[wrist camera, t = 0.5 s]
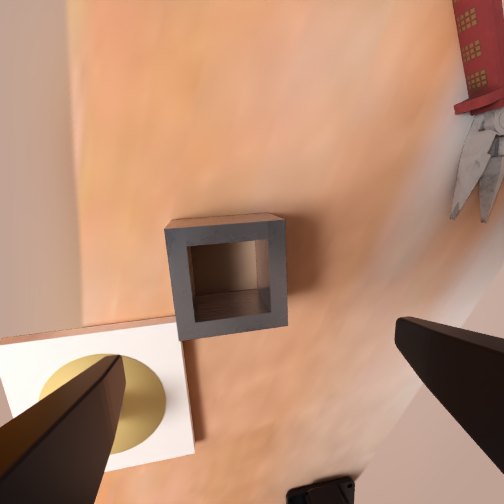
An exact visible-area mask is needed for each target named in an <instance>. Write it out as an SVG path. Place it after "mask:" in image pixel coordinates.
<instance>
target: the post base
mask: <svg viewBox="0 0 504 504" xmlns="http://www.w3.org/2000/svg"><path fill="white" fill-rule="evenodd" d="M117 354H118V355H121V356H122V359H123V365H124V371H125V377H126V387H125V392H124V397H123V402H122V407H121V412H120V417H119V421H118V426H117V431H116V435H115V440H114V443H113V446H112V450H111V453H110V456H109V459H108V462H107V465H106V468H105V471H104V472H107V471H112V470H116V469H121V468H126V467H131V466H136V465H140V464H145V463H150V462H155V461H160V460H165V459H169V458H174V457H179V456H184V455H189V454H193V453H195V438H194V430H193V422H192V414H191V406H190V398H189V390H188V382H187V374H186V367H185V359H184V351H183V343H182V341H179V339H178V332H177V324H176V316H170V317H162V318H154V319H147V320H139V321H131V322H123V323H115V324H107V325H100V326H92V327H84V328H76V329H69V330H60V331H53V332H45V333H37V334H29V335H21V336H14V337H6V338H1V339H0V377H1V380H2V383H3V386H4V390H5V393H6V396H7V399H8V403H9V406H10V409H11V412H12V415H13V419H14V418H15V417H16V416H18V415H19V414H21V413H22V412H24V411H25V410H27V409H28V408H30V407H31V406H33V405H34V404H36V403H37V402H39V401H40V400H42V399H43V398H45V397H46V396H47V395H49V394H50V393H52V392H53V391H55V390H56V389H58V388H59V387H61V386H62V385H64V384H65V383H67V382H68V381H70V380H71V379H73V378H74V377H76V376H77V375H78V374H80V373H81V372H83V371H84V370H86V369H87V368H89V367H90V366H92V365H93V364H95V363H96V362H98V361H99V360H101V359H102V358H104V357H105V356H110V355H117Z"/></svg>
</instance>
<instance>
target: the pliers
mask: <svg viewBox="0 0 504 504" xmlns="http://www.w3.org/2000/svg"><path fill="white" fill-rule="evenodd" d="M452 1H453V8H454V14H455V20H456V25H457V31H458V37H459V43H460V49H461V54H462V60H463V66H464V72H465V78H466V83H467V89H468V95H469V99H467V100H465V101H463V102H461V103H458V104H456V105H454V110H455V115H456V114H460V113H463V112H467V111H470V112H471V115H475V114H477V115H476V116H475V118H474V121H473V123H472V126H471V128H470V131H469V133H468V136H467V138H466V141H465V144H464V147H463V150H462V153H461V157H460V163H459V169H458V174H457V180H456V186H455V191H454V197H453V203H452V208H451V214H450V219H454V220H455V218H456V216H457V215H458V213H459V211H460V210H461V208H462V207H463V205H464V203H465V202H466V200H467V198H468V197H469V195H470V193H471V192H472V190H473V188H474V187H475V185H476V183H477V182H478V180H479V194H480V216H481V222H484V223H486V222H487V219H488V217H489V214H490V212H491V209H492V206H493V204H494V201H495V199H496V196H497V193H498V191H499V188H500V186H501V183H502V180H503V178H504V16H503V8H502V0H452Z"/></svg>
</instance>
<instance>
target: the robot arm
mask: <svg viewBox="0 0 504 504" xmlns="http://www.w3.org/2000/svg"><path fill="white" fill-rule="evenodd" d="M395 344H396V346H397V348H398V349H399V351H400V352H401V353H402V355H403V356H404V357H405V359H406V360H407V362H408V363H409V364H410V366H411V367H412V368H413V370H414V371H415V372H416V374H417V375H418V376H419V378H420V379H421V380H422V382H423V383H424V384H425V385H426V387H427V388H428V389H429V390H430V391H431V392H432V394H433V395H434V396H435V397H436V398H437V399H438V400H439V401H440V403H441V404H442V405H443V406H444V407H445V408H446V409H447V410H448V412H449V413H450V414H451V415H452V416H453V417H454V418H455V420H456V421H457V422H458V423H459V424H460V425H461V426H462V428H463V429H464V430H465V431H466V432H467V433H468V434H469V435H470V437H471V438H472V439H473V440H474V441H475V442H476V443H477V445H478V446H479V447H480V448H481V449H482V450H483V451H484V452H485V453H486V455H487V456H488V457H489V458H490V459H491V460H492V461H493V463H494V464H495V465H496V466H497V467H498V468H499V469H500V471H501V472H502V473H503V474H504V339H503V338H499V337H494V336H490V335H486V334H482V333H478V332H473V331H469V330H465V329H461V328H457V327H452V326H448V325H444V324H440V323H435V322H431V321H427V320H423V319H419V318H414V317H400V318H398V319H397V321H396V328H395ZM125 387H126V377H125V371H124V365H123V359H122V356H121V355H118V354H117V355H110V356H105V357H104V358H102V359H101V360H99V361H98V362H96V363H95V364H93V365H92V366H90V367H89V368H87V369H86V370H84V371H83V372H81V373H80V374H78V375H77V376H76V377H74V378H73V379H71V380H70V381H68V382H67V383H65V384H64V385H62V386H61V387H59V388H58V389H56V390H55V391H53V392H52V393H50V394H49V395H47V396H46V397H45V398H43V399H42V400H40V401H39V402H37V403H36V404H34V405H33V406H31V407H30V408H28V409H27V410H25V411H24V412H22V413H21V414H19V415H18V416H16V417H15V418H14V419H12V420H11V421H9V422H8V423H6V424H5V425H3V426H2V427H0V504H94V502H95V499H96V496H97V493H98V490H99V487H100V484H101V481H102V477H103V474H104V471H105V468H106V465H107V462H108V459H109V456H110V453H111V450H112V446H113V443H114V440H115V435H116V431H117V426H118V421H119V417H120V412H121V407H122V402H123V397H124V392H125ZM354 491H355V483H354V481H353V479H352V478H351V477H347V478H343V479H339V480H335V481H330V482H326V483H322V484H318V485H314V486H310V487H306V488H302V489H297V490H293V491H290V492H288V493H287V494H286V504H354Z"/></svg>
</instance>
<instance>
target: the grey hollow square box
mask: <svg viewBox="0 0 504 504" xmlns="http://www.w3.org/2000/svg"><path fill="white" fill-rule="evenodd" d="M164 232H165V239H166V247H167V255H168V262H169V270H170V278H171V286H172V293H173V301H174V309H175V316H176V324H177V332H178V339H179V341H185V340H192V339H199V338H206V337H213V336H220V335H227V334H234V333H241V332H248V331H255V330H262V329H269V328H276V327H283V326H288V307H287V266H286V226H285V219H283V218H280V217H278V216H275V215H273V214H270V213H258V214H245V215H231V216H217V217H204V218H190V219H176V220H171V221H170V223H169V224H168V225H167V226H166V227H165V229H164ZM252 240H255V247H256V267H257V286H258V289H250V290H242V291H233V292H224V293H216V294H207V295H199V296H196V292H195V283H194V274H193V264H192V255H191V246H196V245H207V244H219V243H230V242H241V241H252Z"/></svg>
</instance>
